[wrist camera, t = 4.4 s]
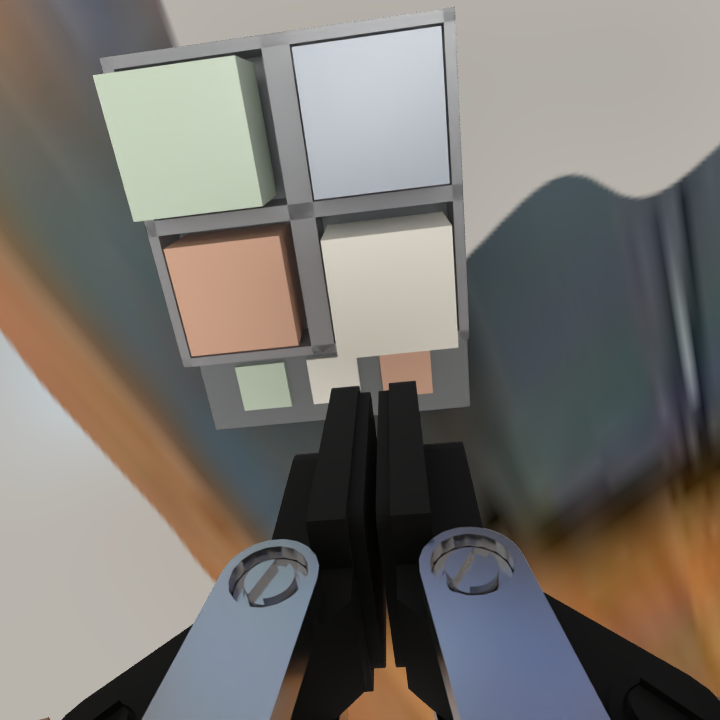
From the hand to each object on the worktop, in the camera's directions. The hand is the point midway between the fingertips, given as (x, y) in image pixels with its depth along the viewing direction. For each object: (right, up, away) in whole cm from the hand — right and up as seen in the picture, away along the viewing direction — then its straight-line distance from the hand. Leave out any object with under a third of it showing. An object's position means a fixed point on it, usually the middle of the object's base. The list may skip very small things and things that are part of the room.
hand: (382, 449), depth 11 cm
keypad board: (-2, +7, +15) cm, 17 cm away
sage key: (-6, +10, +10) cm, 16 cm away
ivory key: (+1, +5, +12) cm, 13 cm away
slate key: (0, +11, +9) cm, 14 cm away
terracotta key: (-6, +5, +14) cm, 16 cm away
